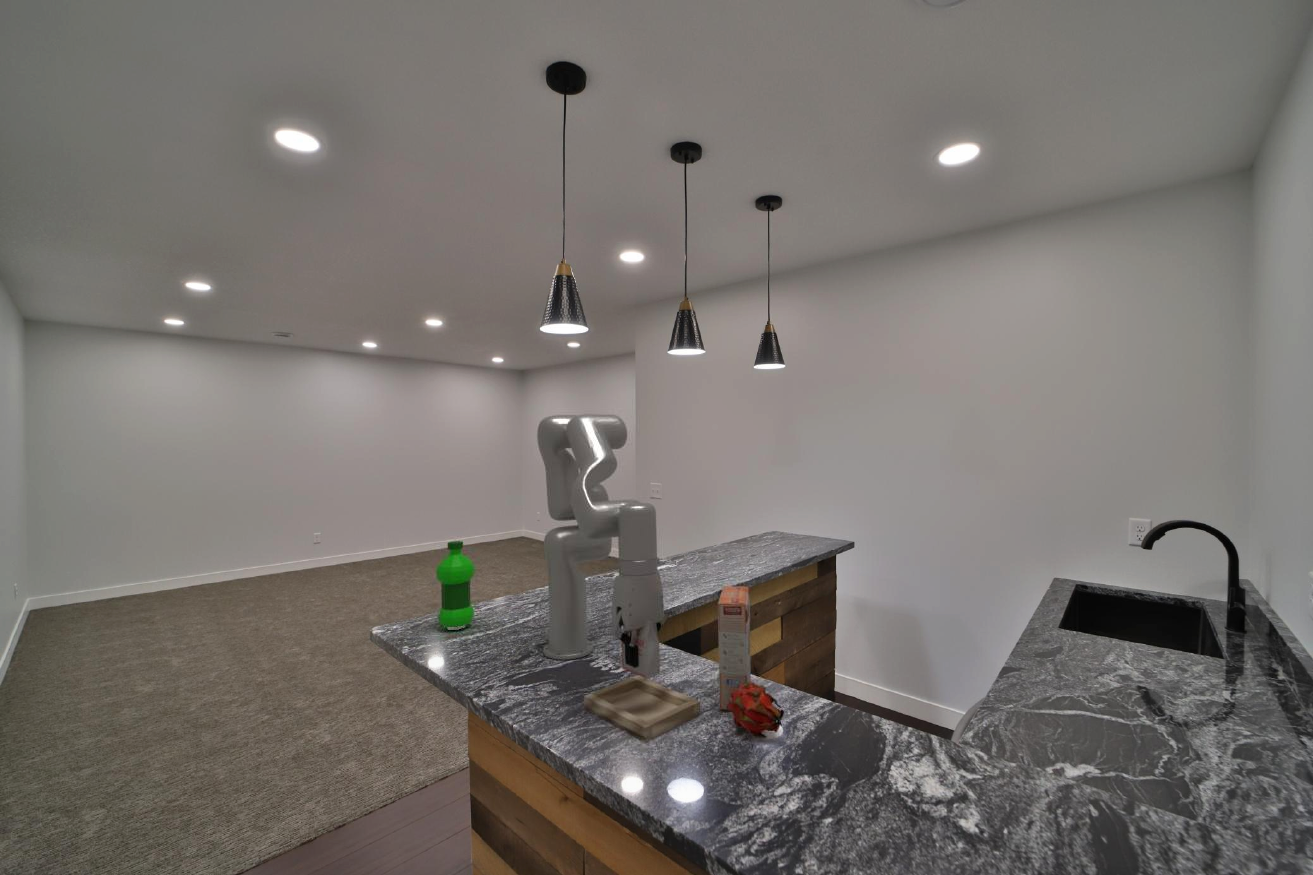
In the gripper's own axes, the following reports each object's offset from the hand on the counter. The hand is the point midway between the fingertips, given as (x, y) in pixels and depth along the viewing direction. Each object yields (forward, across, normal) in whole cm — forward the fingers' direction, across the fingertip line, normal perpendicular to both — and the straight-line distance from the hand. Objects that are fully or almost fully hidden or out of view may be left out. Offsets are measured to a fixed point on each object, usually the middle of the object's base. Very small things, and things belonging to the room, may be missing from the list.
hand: (640, 661), depth 108 cm
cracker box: (+10, -18, +9) cm, 22 cm away
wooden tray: (+10, 0, 0) cm, 10 cm away
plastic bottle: (+9, +3, -78) cm, 79 cm away
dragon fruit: (+10, -10, +20) cm, 24 cm away
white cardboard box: (+2, 0, 0) cm, 2 cm away
